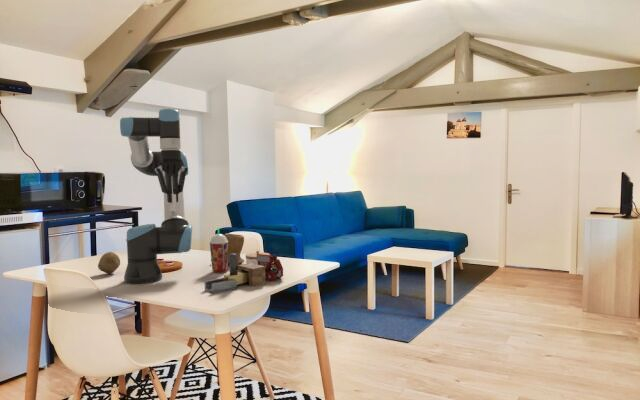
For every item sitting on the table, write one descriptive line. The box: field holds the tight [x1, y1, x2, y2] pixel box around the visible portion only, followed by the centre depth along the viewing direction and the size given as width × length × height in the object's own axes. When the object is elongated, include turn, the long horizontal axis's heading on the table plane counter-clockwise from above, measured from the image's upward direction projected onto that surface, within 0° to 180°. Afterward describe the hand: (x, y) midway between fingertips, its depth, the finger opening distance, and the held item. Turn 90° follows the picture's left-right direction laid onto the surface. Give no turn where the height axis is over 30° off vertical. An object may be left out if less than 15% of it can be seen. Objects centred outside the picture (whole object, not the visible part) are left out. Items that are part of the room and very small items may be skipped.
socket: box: [238, 263, 267, 287], centre depth 187 cm, size 11×6×7 cm, turn 42°
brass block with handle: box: [223, 253, 249, 285], centre depth 183 cm, size 4×13×12 cm, turn 131°
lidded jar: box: [245, 250, 271, 265], centre depth 208 cm, size 11×11×9 cm
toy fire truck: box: [257, 254, 284, 282], centre depth 193 cm, size 7×12×10 cm, turn 60°
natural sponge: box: [97, 251, 121, 274], centre depth 211 cm, size 9×9×10 cm
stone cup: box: [223, 233, 245, 265], centre depth 228 cm, size 15×12×15 cm
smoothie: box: [209, 227, 229, 274], centre depth 210 cm, size 8×8×20 cm
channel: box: [204, 277, 238, 294], centre depth 178 cm, size 7×10×4 cm, turn 132°
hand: (173, 210), depth 180 cm, fingers closed
